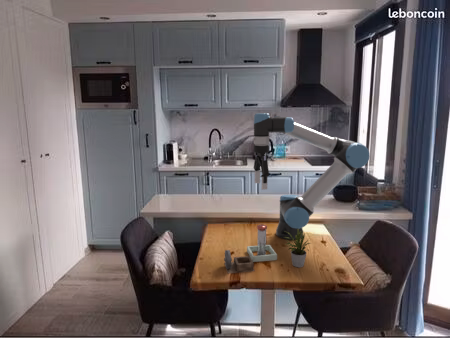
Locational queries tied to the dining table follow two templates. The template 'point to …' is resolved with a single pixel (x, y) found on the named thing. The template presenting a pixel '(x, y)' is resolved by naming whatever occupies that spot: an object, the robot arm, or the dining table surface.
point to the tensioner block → (238, 263)
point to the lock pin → (261, 240)
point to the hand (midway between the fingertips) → (260, 186)
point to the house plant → (298, 249)
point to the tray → (261, 257)
